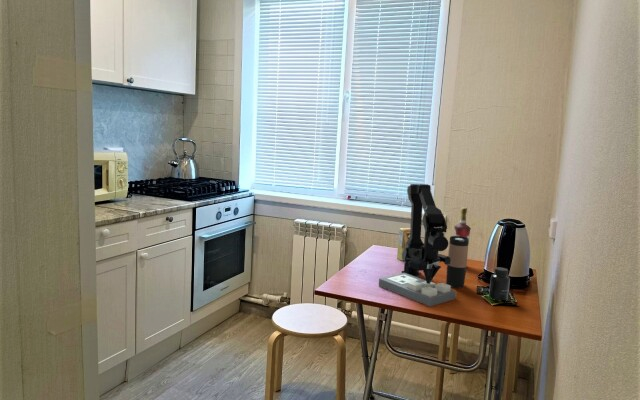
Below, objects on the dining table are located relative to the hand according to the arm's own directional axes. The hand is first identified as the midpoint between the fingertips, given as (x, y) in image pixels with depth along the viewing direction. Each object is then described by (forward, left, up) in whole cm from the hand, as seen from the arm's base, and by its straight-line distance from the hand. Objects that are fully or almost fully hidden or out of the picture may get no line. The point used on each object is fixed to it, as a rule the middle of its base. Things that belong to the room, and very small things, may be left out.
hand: (428, 283), depth 183 cm
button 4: (0, +7, -2) cm, 7 cm away
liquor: (-42, -15, -4) cm, 45 cm away
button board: (+4, -2, -4) cm, 6 cm away
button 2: (0, 0, -3) cm, 3 cm away
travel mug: (-17, +1, -4) cm, 17 cm away
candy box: (-29, -36, -4) cm, 47 cm away
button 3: (+8, +7, -2) cm, 11 cm away
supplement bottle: (-18, +20, -4) cm, 27 cm away
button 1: (+8, 0, -2) cm, 8 cm away
